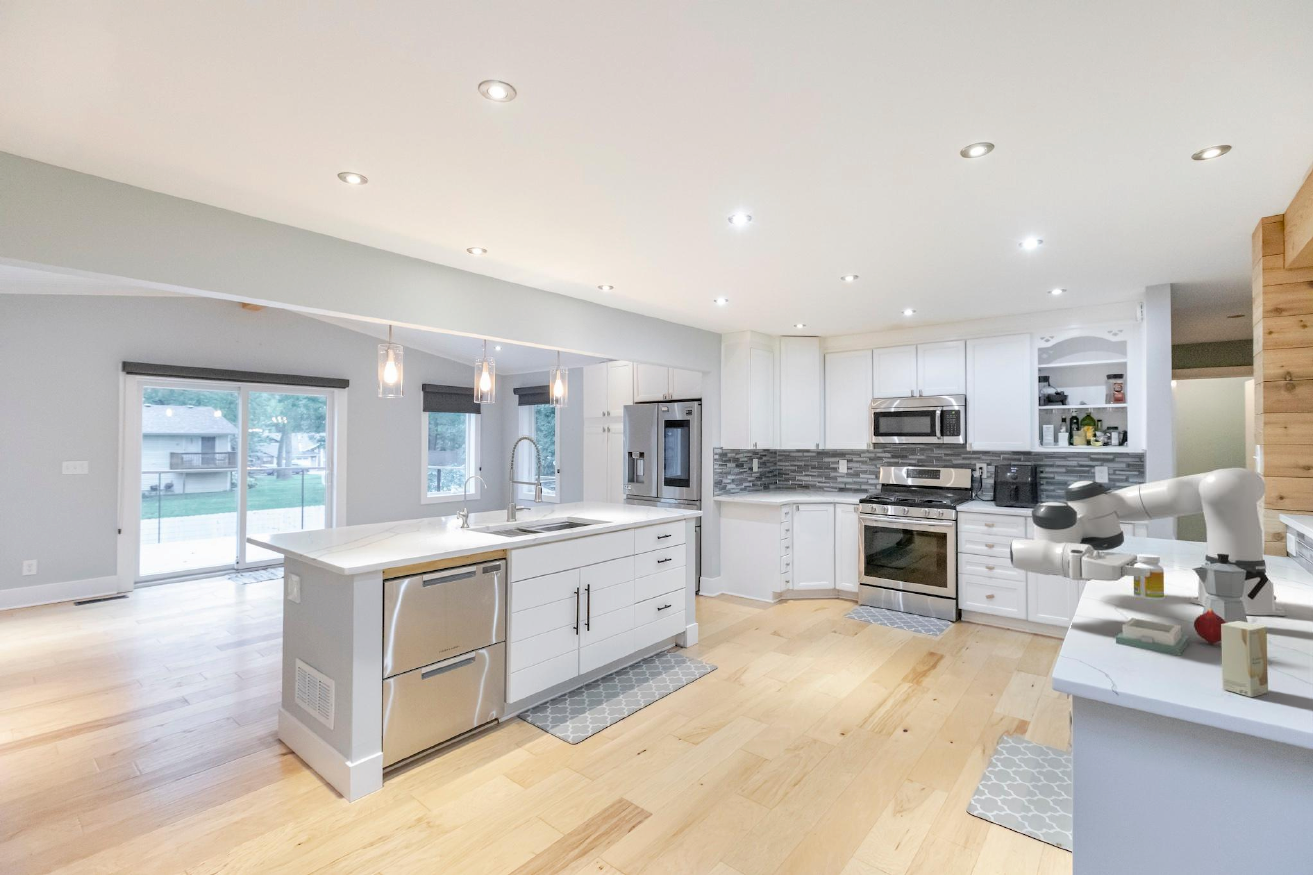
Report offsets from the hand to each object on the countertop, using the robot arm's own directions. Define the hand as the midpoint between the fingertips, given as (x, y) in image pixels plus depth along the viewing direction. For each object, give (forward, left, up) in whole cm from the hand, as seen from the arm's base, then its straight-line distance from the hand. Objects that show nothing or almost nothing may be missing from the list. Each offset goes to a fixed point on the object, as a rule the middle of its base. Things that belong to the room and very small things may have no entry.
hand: (1153, 570), depth 136 cm
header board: (0, -1, -17) cm, 17 cm away
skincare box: (+21, +16, -17) cm, 32 cm away
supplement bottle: (0, -1, -7) cm, 7 cm away
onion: (-9, +8, -17) cm, 21 cm away
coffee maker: (-31, +9, -17) cm, 36 cm away
